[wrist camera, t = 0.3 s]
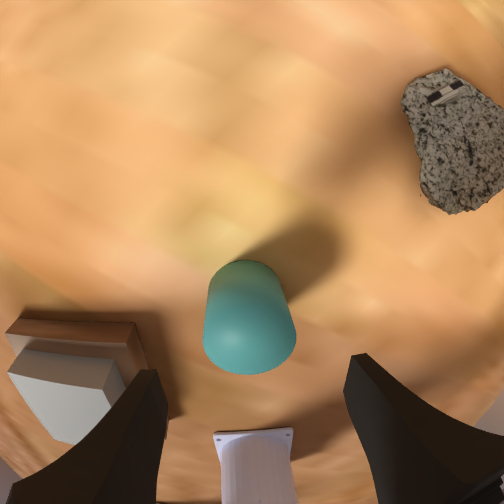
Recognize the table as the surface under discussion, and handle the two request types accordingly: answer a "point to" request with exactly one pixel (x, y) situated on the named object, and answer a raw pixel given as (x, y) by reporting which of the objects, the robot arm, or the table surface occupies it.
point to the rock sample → (455, 141)
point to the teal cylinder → (247, 319)
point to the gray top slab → (67, 390)
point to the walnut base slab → (83, 342)
